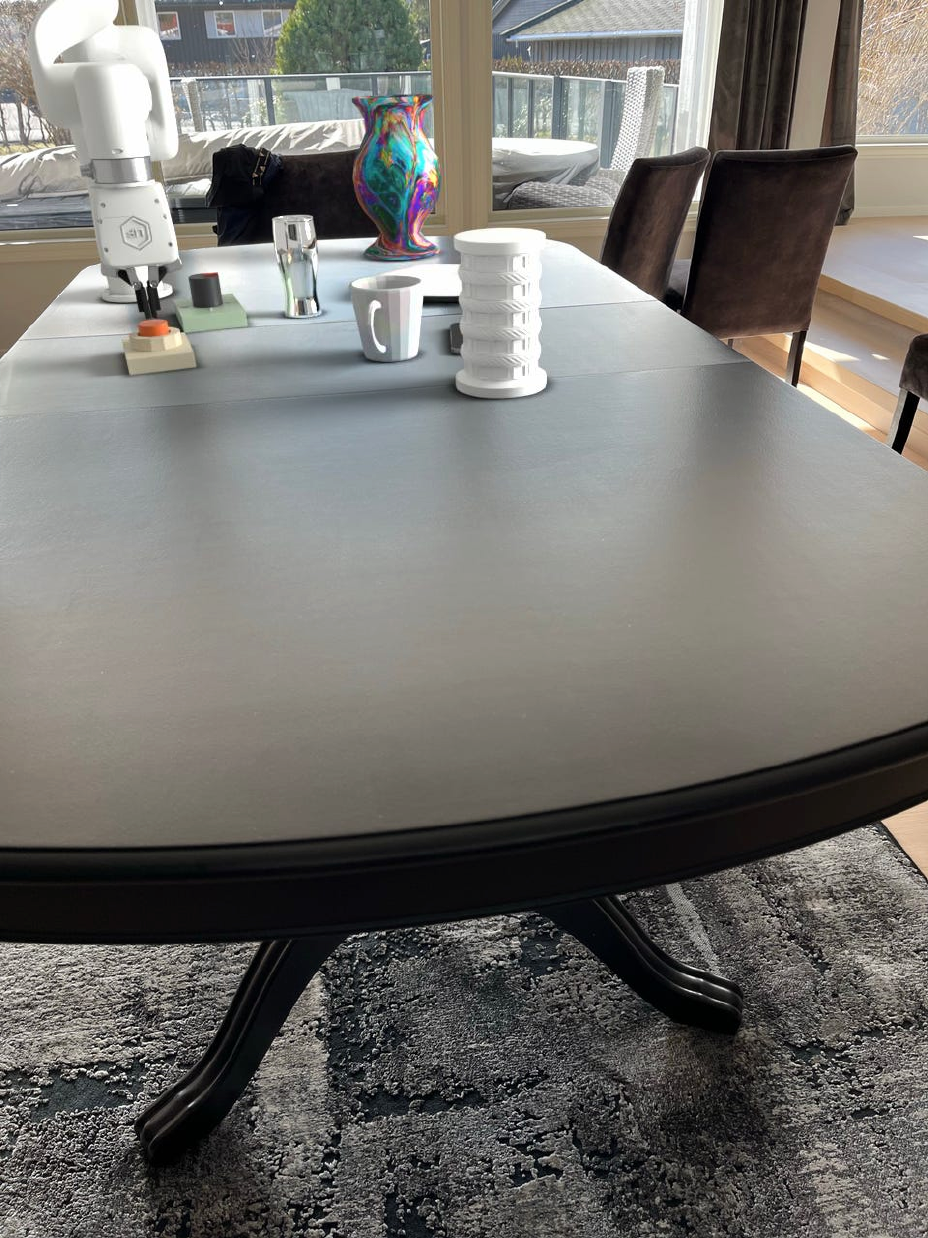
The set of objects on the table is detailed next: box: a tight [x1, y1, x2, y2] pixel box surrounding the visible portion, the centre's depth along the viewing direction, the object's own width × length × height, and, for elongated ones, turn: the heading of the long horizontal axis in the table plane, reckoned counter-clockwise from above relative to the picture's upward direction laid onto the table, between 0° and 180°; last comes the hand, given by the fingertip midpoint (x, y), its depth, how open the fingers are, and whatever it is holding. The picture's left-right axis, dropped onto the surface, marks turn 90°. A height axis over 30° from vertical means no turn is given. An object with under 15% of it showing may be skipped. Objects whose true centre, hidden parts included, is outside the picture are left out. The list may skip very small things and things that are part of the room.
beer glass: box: [271, 214, 323, 319], centre depth 154 cm, size 7×7×15 cm
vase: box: [350, 93, 442, 261], centre depth 196 cm, size 18×18×30 cm
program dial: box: [187, 272, 223, 308], centre depth 154 cm, size 5×5×5 cm
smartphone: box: [449, 322, 463, 354], centre depth 140 cm, size 8×1×15 cm
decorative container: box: [453, 227, 547, 399], centre depth 116 cm, size 12×12×18 cm
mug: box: [348, 275, 424, 363], centre depth 130 cm, size 10×15×10 cm
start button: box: [137, 319, 169, 337], centre depth 133 cm, size 4×4×2 cm
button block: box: [121, 326, 197, 376], centre depth 135 cm, size 12×9×4 cm
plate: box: [374, 263, 462, 303], centre depth 171 cm, size 27×27×2 cm
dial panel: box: [172, 293, 248, 334], centre depth 156 cm, size 14×10×3 cm
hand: (151, 316), depth 132 cm, fingers closed
